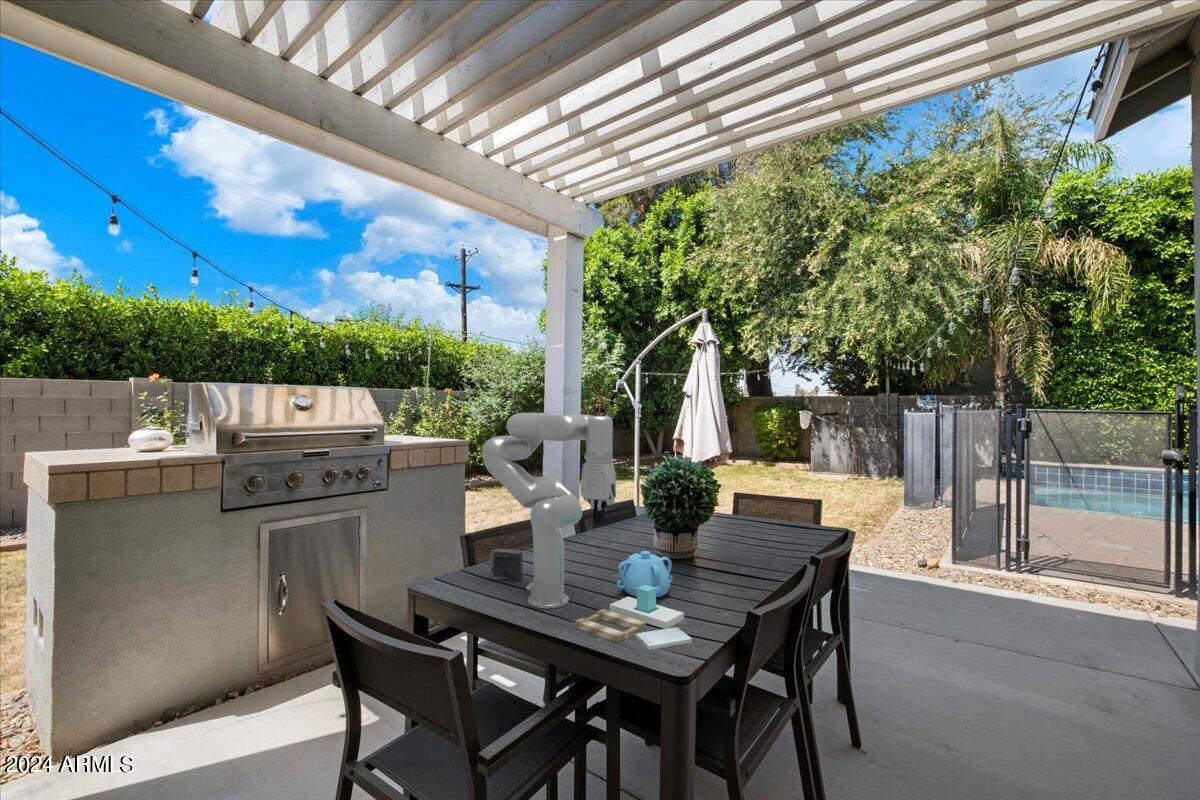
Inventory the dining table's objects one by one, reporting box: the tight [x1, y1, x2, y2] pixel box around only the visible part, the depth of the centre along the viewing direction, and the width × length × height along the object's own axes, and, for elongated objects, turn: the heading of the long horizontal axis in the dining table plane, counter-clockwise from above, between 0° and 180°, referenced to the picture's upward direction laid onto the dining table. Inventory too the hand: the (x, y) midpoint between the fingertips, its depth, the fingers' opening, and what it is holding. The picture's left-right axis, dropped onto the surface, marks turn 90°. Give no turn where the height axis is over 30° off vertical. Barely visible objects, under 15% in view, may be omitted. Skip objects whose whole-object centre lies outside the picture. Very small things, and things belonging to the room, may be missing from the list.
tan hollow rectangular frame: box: [574, 608, 647, 644], centre depth 150 cm, size 15×12×2 cm
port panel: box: [608, 596, 685, 629], centre depth 160 cm, size 20×9×2 cm, turn 50°
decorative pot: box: [616, 550, 674, 599], centre depth 178 cm, size 16×16×14 cm
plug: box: [637, 585, 657, 614], centre depth 160 cm, size 4×4×8 cm
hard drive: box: [634, 626, 693, 651], centre depth 144 cm, size 2×8×12 cm
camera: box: [488, 548, 523, 582], centre depth 192 cm, size 11×6×10 cm, turn 74°
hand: (598, 523), depth 158 cm, fingers closed
